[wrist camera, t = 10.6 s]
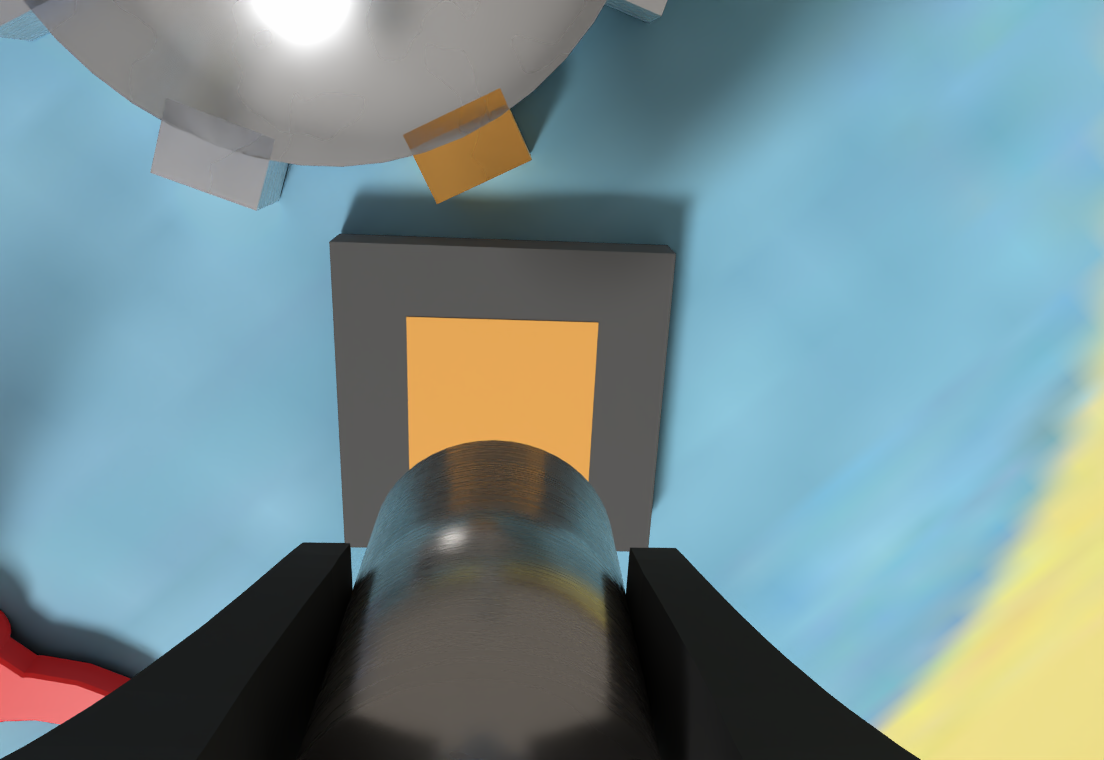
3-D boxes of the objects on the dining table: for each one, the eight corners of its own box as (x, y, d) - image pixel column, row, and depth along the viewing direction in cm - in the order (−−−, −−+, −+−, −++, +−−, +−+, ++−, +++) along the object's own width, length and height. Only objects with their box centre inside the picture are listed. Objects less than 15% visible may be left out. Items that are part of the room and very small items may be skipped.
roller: (376, 648, 13) (292, 980, 8) (367, 437, 11) (261, 680, 7) (605, 649, 13) (656, 975, 8) (620, 442, 12) (691, 681, 7)
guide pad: (353, 525, 19) (344, 547, 18) (339, 233, 17) (329, 242, 16) (641, 529, 20) (648, 552, 19) (666, 245, 17) (675, 254, 16)
